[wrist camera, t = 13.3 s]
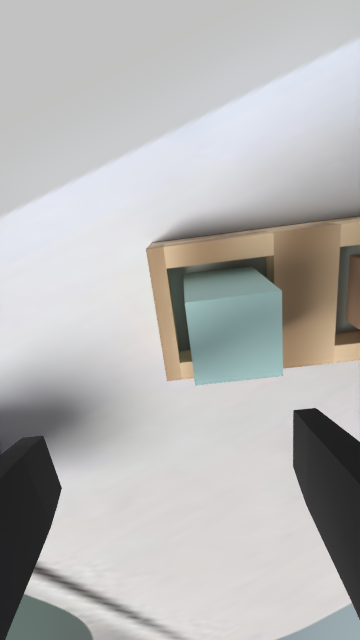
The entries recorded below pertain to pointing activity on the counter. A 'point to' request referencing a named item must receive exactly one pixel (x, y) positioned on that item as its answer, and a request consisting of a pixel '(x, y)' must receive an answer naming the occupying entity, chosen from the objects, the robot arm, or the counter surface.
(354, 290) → the tan cardboard box
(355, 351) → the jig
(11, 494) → the robot arm
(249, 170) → the counter surface
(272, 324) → the block
